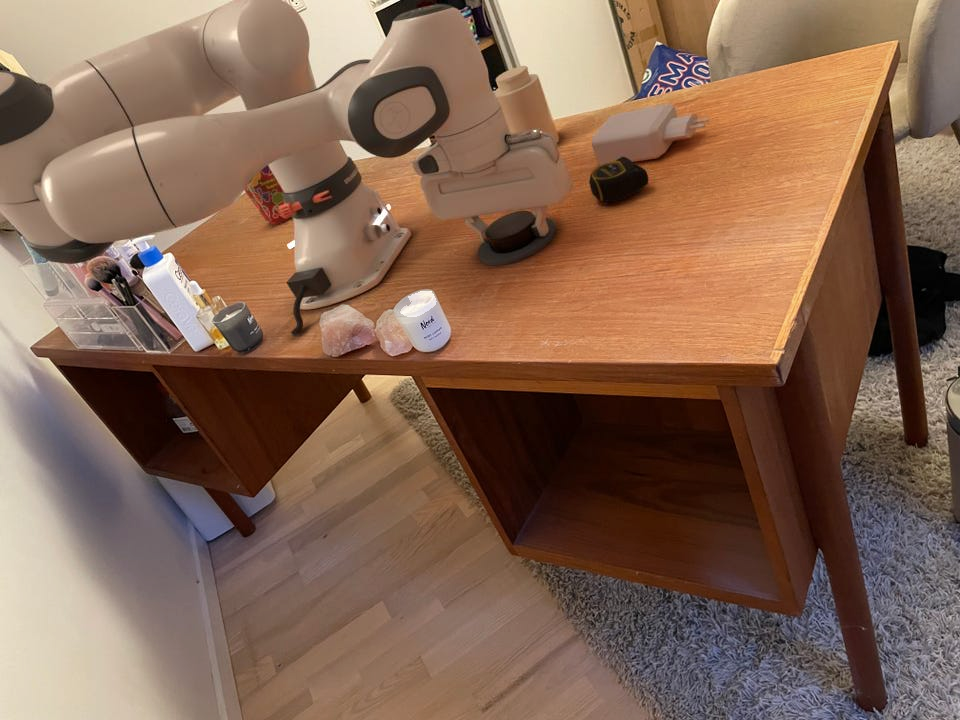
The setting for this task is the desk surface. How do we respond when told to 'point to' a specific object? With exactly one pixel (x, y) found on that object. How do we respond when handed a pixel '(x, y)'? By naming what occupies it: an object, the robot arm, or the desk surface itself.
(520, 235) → the lid
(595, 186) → the tape measure
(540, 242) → the coaster
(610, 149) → the charger
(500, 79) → the jar
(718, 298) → the desk surface
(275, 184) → the smoothie
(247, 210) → the desk surface
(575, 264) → the desk surface
